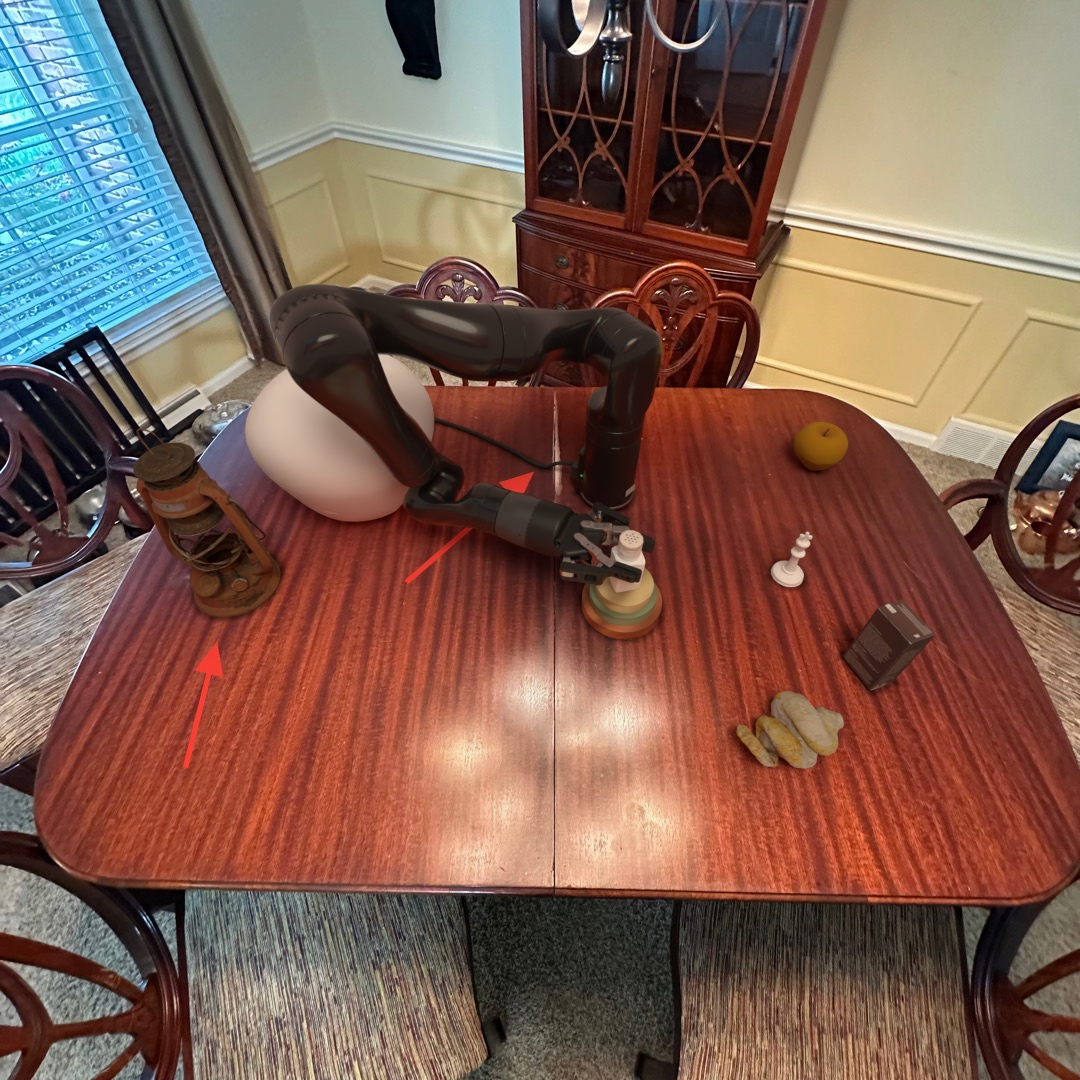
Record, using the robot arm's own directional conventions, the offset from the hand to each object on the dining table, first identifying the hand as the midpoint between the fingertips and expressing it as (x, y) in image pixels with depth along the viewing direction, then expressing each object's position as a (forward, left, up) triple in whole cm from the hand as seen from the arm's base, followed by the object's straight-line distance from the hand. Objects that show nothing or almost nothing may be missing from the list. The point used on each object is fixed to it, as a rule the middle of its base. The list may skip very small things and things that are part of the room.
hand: (646, 561), depth 82 cm
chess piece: (+17, +20, -12) cm, 28 cm away
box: (+32, +10, -12) cm, 35 cm away
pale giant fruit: (-51, -5, -12) cm, 53 cm away
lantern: (-54, -30, -12) cm, 64 cm away
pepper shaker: (-3, 0, -6) cm, 7 cm away
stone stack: (+26, -6, -12) cm, 29 cm away
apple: (+12, +48, -12) cm, 51 cm away
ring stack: (-2, 0, -12) cm, 12 cm away
